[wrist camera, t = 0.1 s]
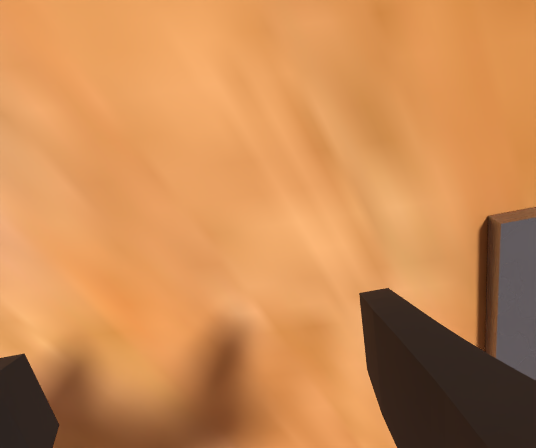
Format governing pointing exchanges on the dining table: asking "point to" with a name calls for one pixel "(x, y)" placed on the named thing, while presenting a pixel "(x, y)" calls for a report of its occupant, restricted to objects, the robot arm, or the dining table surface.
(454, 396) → the robot arm
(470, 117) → the dining table surface
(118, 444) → the dining table surface
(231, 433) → the dining table surface
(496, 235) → the carrier plate
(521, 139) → the dining table surface
